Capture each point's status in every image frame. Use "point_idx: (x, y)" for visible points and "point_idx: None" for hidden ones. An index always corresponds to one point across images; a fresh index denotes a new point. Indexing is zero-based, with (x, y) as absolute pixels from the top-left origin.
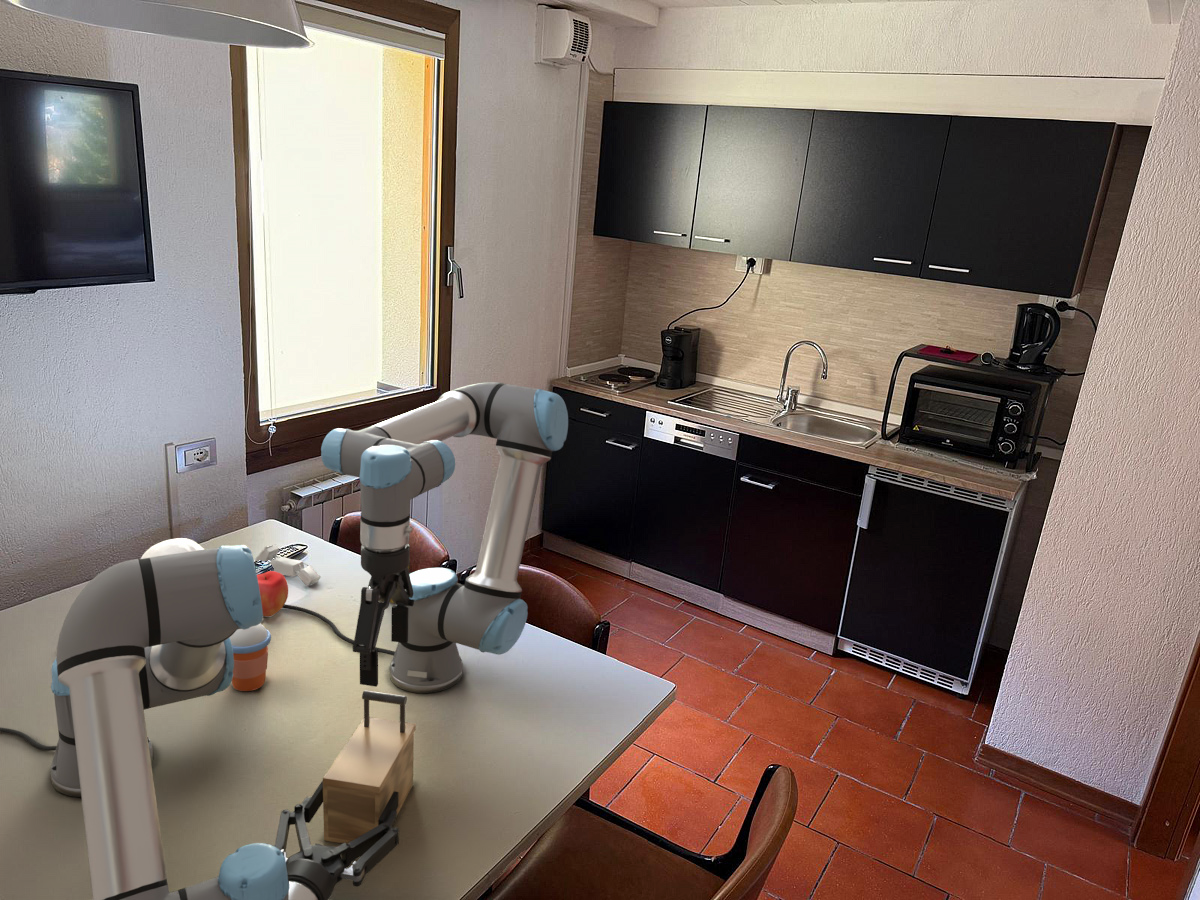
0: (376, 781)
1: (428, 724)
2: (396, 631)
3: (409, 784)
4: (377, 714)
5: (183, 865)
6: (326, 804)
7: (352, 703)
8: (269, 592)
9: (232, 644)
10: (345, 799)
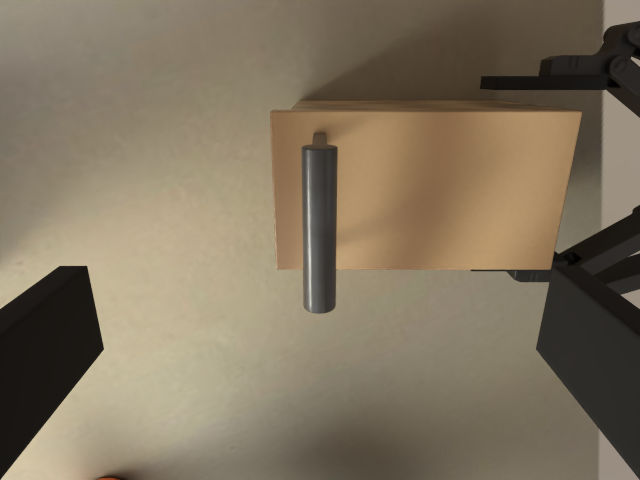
0: (558, 129)
1: (85, 139)
2: (60, 366)
3: (323, 101)
4: (100, 259)
5: (551, 384)
6: None
7: None
8: None
9: None
10: None
